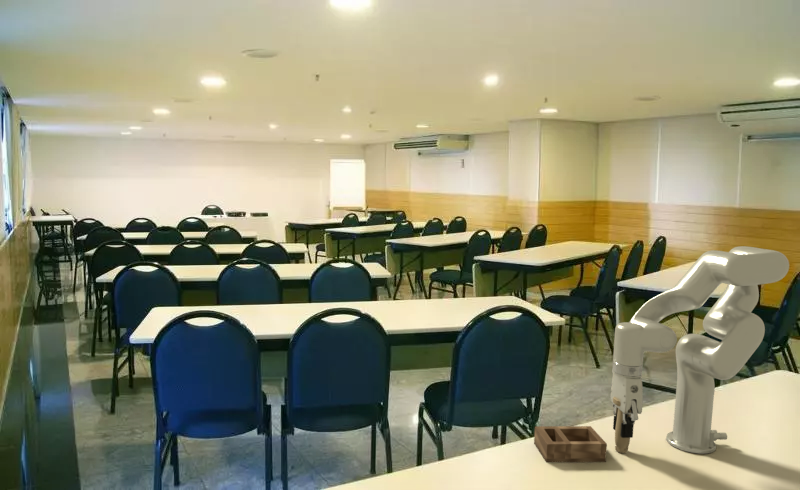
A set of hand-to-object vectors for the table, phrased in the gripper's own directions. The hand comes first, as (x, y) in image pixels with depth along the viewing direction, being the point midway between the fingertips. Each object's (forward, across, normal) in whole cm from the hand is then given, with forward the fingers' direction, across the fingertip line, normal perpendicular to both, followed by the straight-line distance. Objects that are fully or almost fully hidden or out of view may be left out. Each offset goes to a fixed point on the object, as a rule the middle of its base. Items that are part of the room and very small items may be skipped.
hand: (622, 432), depth 162 cm
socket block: (+5, 0, +15) cm, 16 cm away
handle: (+5, 0, 0) cm, 5 cm away
